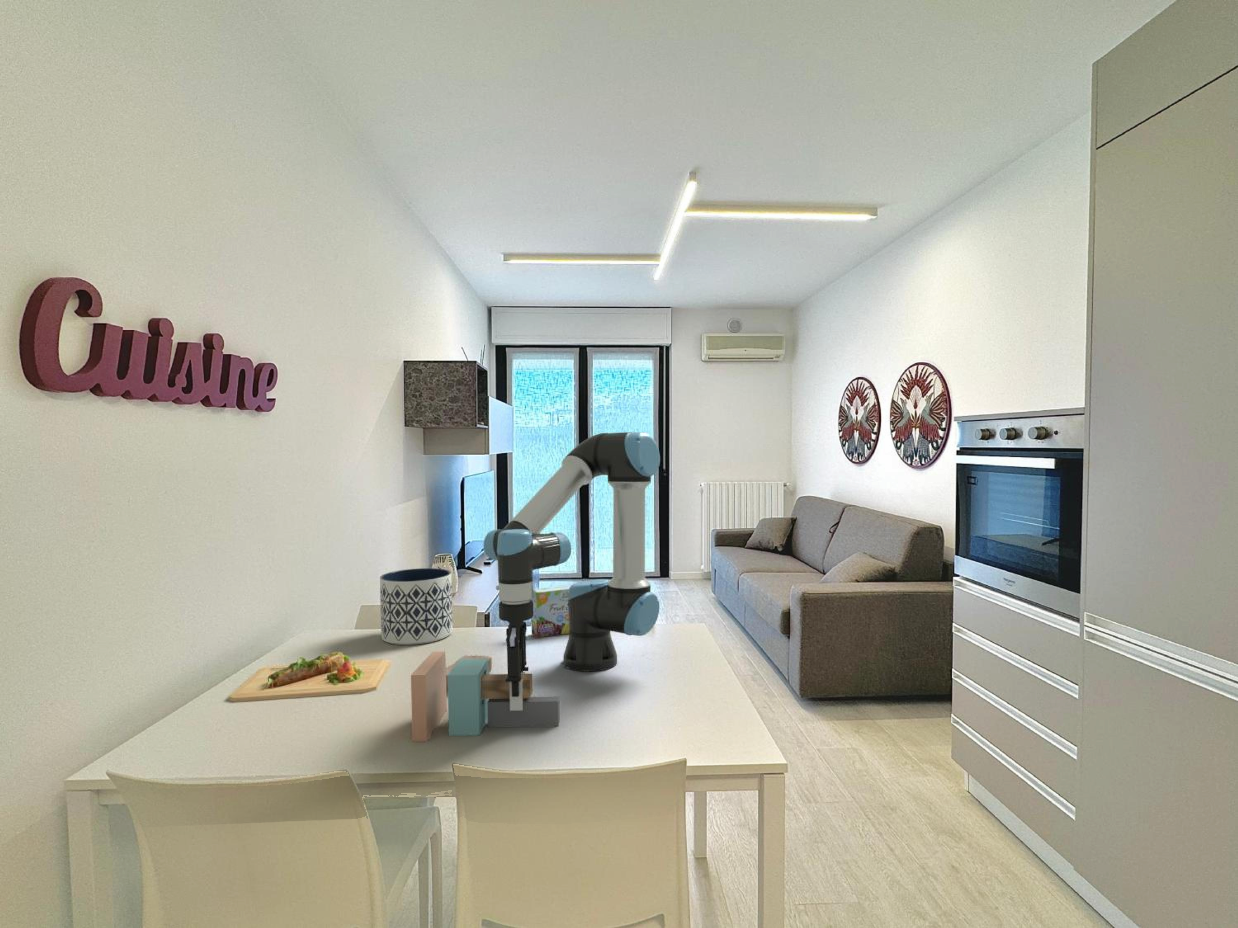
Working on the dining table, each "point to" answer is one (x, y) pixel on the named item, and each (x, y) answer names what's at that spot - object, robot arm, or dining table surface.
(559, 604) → the snack box
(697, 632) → the dining table surface
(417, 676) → the base
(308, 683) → the cutting board
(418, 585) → the planter
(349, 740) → the dining table surface
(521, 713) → the rail
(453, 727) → the block
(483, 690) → the bar
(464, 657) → the brick
